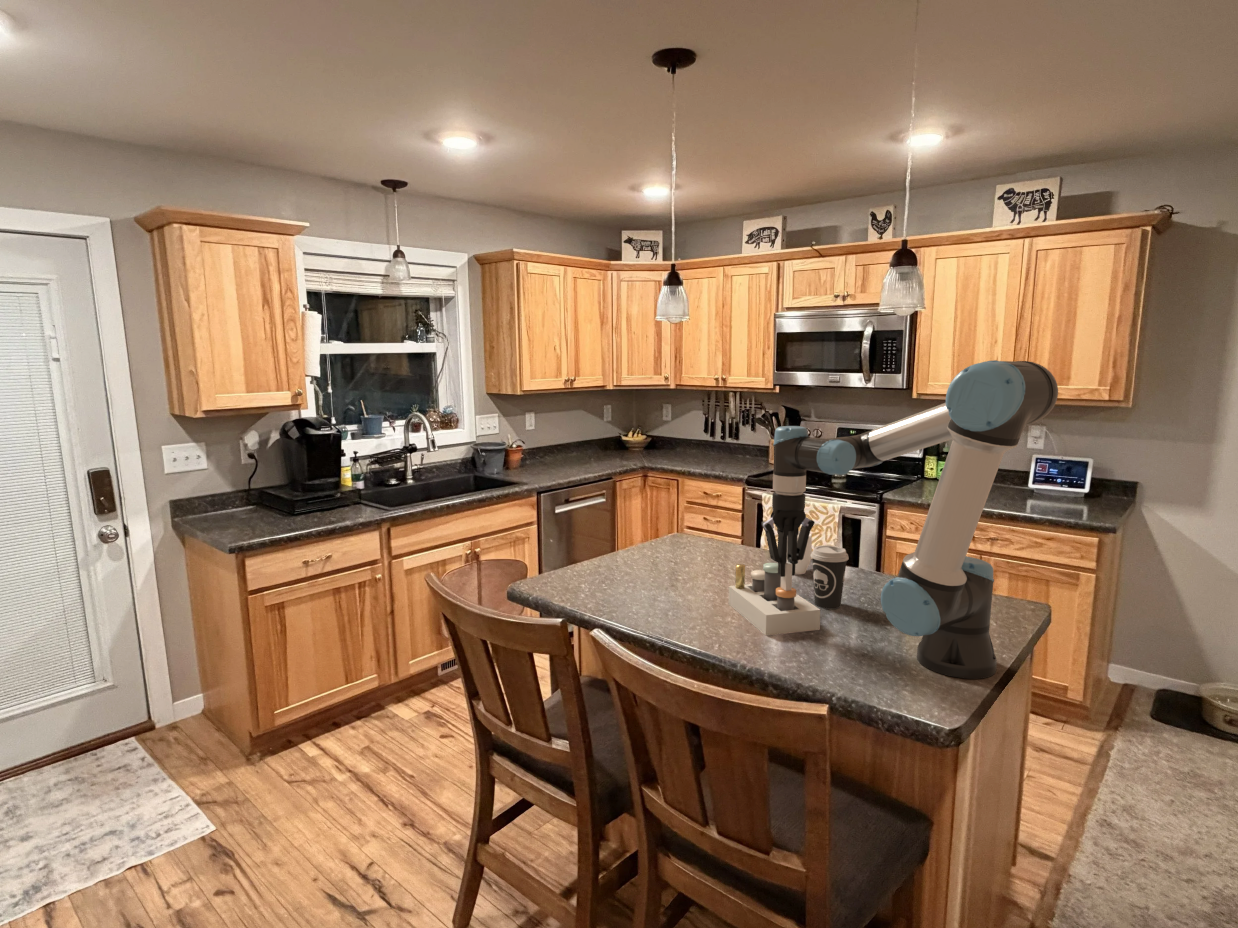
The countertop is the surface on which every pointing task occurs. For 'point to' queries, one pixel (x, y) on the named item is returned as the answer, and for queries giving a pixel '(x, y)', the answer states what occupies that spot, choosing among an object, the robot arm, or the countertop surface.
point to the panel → (774, 612)
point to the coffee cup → (828, 575)
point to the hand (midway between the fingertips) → (785, 588)
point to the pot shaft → (740, 576)
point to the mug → (803, 564)
